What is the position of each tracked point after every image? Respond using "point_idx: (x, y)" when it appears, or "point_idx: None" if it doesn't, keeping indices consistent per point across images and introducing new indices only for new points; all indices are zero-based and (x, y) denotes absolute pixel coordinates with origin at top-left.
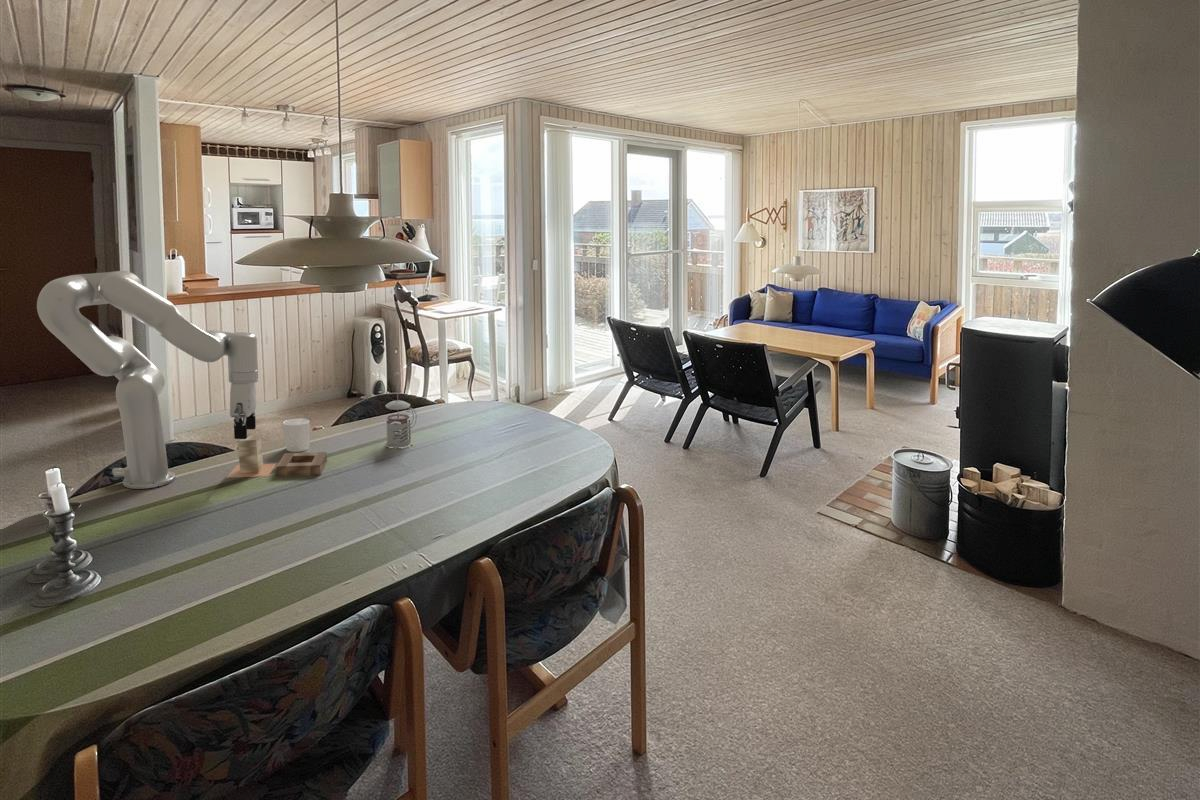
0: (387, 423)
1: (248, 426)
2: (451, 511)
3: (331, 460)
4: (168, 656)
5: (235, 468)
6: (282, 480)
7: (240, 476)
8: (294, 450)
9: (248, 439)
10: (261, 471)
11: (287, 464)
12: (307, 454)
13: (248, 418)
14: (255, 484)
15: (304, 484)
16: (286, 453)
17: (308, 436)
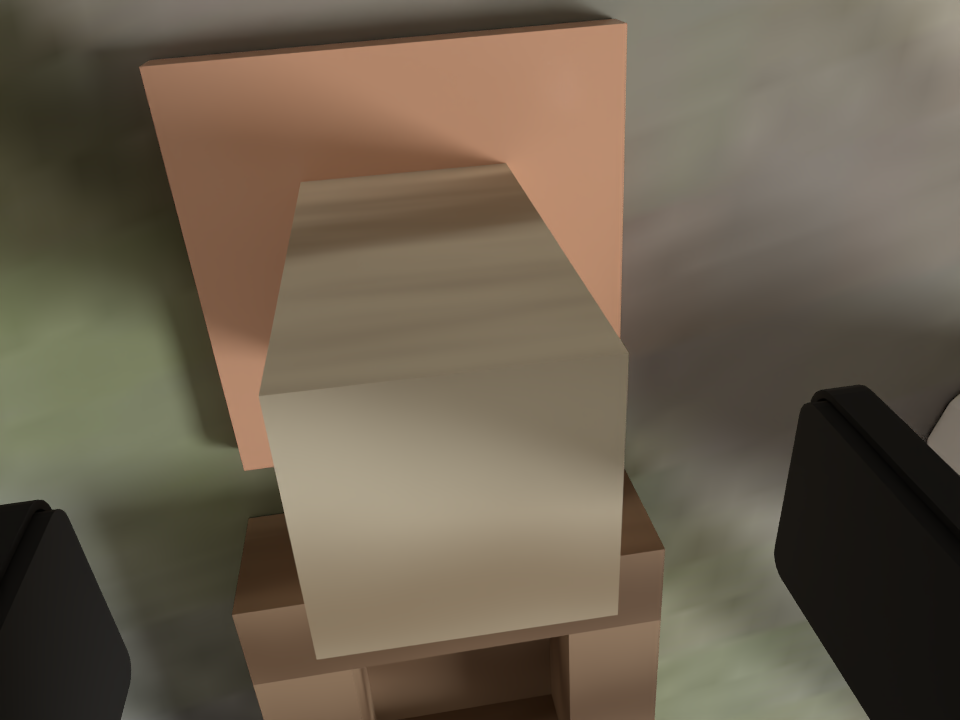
0: None
1: (821, 515)
2: None
3: (707, 702)
4: None
5: (479, 55)
6: (234, 559)
7: (196, 220)
8: (950, 461)
9: (349, 546)
10: None
11: (304, 677)
12: (600, 717)
13: (943, 694)
14: (91, 393)
15: (163, 715)
16: (655, 563)
17: None
